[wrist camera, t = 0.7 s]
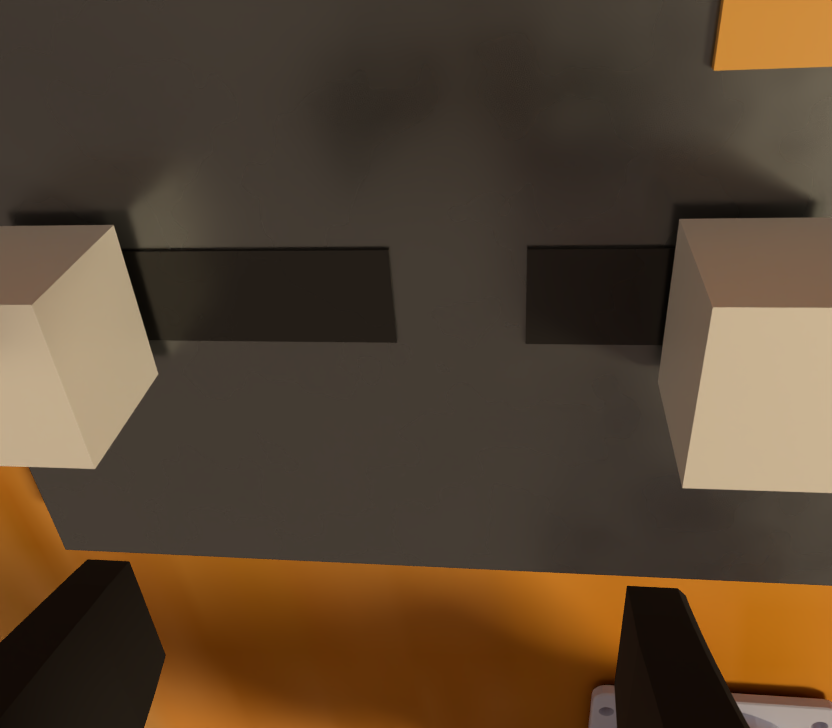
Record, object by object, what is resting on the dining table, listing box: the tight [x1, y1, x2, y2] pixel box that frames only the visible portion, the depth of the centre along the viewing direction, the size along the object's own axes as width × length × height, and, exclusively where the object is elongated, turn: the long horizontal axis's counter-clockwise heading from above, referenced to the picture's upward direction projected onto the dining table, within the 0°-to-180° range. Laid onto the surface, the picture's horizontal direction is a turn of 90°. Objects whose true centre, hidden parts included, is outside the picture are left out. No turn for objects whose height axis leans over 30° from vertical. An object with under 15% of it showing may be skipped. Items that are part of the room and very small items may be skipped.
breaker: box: [0, 225, 158, 469], centre depth 17 cm, size 4×3×4 cm
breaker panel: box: [0, 0, 832, 586], centre depth 17 cm, size 18×41×2 cm, turn 93°
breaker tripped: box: [658, 217, 832, 493], centre depth 15 cm, size 4×3×4 cm
